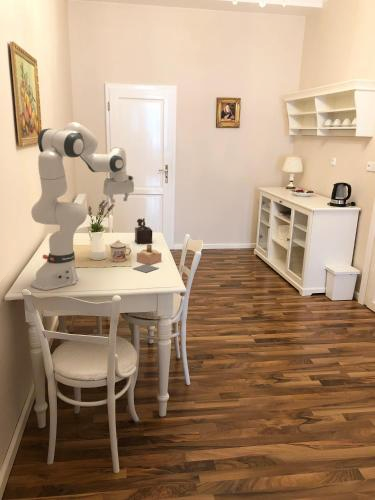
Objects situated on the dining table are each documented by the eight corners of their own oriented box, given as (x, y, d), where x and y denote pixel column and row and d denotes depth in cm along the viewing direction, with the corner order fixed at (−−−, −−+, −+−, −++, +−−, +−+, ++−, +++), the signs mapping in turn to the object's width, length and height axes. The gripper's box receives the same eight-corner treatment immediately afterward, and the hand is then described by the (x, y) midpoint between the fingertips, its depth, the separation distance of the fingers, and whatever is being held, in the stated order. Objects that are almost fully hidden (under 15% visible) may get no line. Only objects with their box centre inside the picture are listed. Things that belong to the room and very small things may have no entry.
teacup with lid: (111, 262, 230) (111, 243, 226) (109, 258, 238) (109, 239, 235) (132, 261, 233) (132, 241, 230) (129, 256, 242) (129, 238, 238)
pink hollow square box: (149, 265, 227) (149, 256, 226) (136, 261, 233) (136, 253, 232) (161, 261, 235) (161, 252, 234) (148, 257, 241) (148, 249, 239)
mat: (146, 273, 214) (146, 272, 214) (132, 268, 220) (132, 268, 220) (158, 268, 222) (158, 267, 222) (145, 264, 228) (145, 264, 228)
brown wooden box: (133, 240, 279) (133, 214, 274) (149, 239, 282) (149, 214, 277) (137, 246, 264) (137, 219, 259) (154, 245, 267) (154, 218, 262)
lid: (149, 256, 226) (149, 248, 225) (136, 253, 232) (136, 245, 231) (161, 253, 233) (161, 245, 232) (148, 249, 239) (148, 241, 238)
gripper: (107, 178, 218) (108, 204, 222) (135, 176, 234) (135, 200, 237) (100, 178, 222) (101, 203, 226) (128, 175, 238) (128, 199, 241)
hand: (119, 201), depth 232 cm, fingers open, 8 cm apart
